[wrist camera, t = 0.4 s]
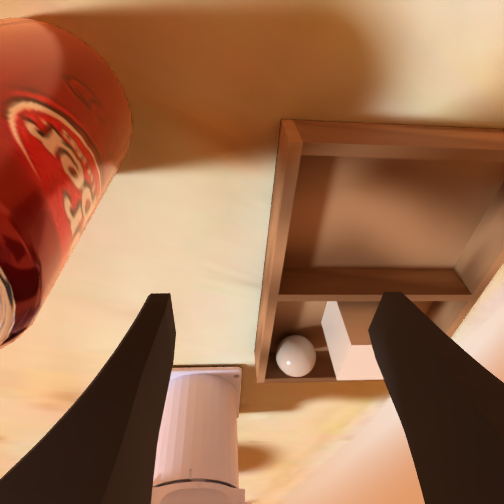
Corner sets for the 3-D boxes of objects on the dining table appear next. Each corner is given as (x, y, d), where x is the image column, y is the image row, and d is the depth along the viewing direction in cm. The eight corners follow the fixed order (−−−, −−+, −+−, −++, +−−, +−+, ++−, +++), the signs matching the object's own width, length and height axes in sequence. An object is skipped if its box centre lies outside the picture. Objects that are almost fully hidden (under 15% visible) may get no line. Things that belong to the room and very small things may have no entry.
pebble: (308, 350, 29) (316, 384, 27) (271, 350, 29) (275, 385, 27) (315, 326, 27) (323, 361, 25) (275, 326, 27) (280, 362, 25)
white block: (369, 322, 27) (393, 379, 24) (321, 322, 27) (336, 380, 23) (385, 286, 25) (414, 344, 21) (331, 286, 25) (351, 345, 21)
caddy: (406, 349, 31) (421, 379, 29) (254, 351, 30) (256, 382, 28) (535, 130, 18) (579, 153, 16) (281, 119, 17) (289, 141, 15)
